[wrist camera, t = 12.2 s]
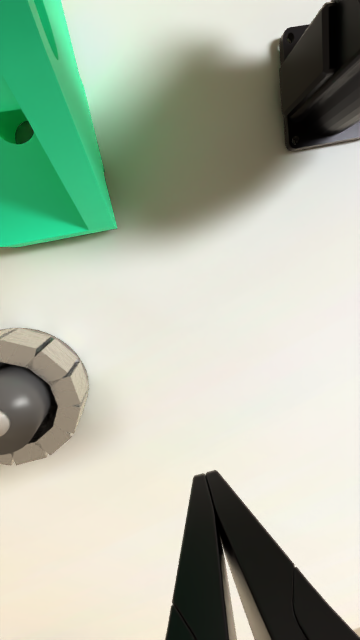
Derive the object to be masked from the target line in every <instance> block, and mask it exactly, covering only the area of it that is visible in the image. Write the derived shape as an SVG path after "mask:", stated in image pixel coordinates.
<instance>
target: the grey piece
mask: <svg viewBox="0 0 360 640" xmlns="http://www.w3.org/2000/svg"><path fill="white" fill-rule="evenodd" d="M2 363H8V364H12V365H17V366H21V367H26V368H29V369H30V370H31V371H33V372H34V373H35V374H36V375H38V376H39V377H40V378H42V379H43V380H44V381H45V382H47V383H48V384H49V385H50V387H51V390H52V392H53V395H54V397H55V400H56V401H55V403H54V404H53V406H52V407H51V409H50V411H49V412H48V414H47V415H46V417H45V418H44V420H43V422H42V423H41V425H40V426H39V428H38V429H37V431H36V433H35V434H34V436H33V437H32V439H31V440H30V441H29V442H28V444H27V445H25V446H24V447H23V448H21V449H20V450H18V451H15V452H13V453H10V454H5V455H0V464H6V465H12V463H13V462H15V464H16V465H18V464H22V463H26V462H30V461H34V460H38V459H42V458H46V457H47V455H48V454H49V455H51V454H52V453H54V452H55V451H56V450H57V449H58V448H59V447H60V446H62V445H63V444H64V443H65V442H66V441H67V440H68V439H70V438H71V437H72V435H73V433H74V432H75V429H76V427H77V425H78V422H79V420H80V417H81V415H82V413H83V409H84V406H85V402H86V400H87V396H88V391H89V383H88V376H87V372H86V369H85V367H84V365H83V363H82V361H81V360H80V358H79V357H78V355H77V354H76V353H75V352H74V351H73V350H72V349H71V348H70V347H69V346H68V345H67V344H65V343H64V342H63V341H61V340H60V339H58V338H56V337H54V336H52V335H50V334H48V333H45V332H42V331H39V330H34V329H28V328H10V329H3V330H0V365H1V364H2Z"/></svg>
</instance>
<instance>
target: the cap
mask: <svg viewBox="0 0 360 640" xmlns="http://www.w3.org/2000/svg"><path fill="white" fill-rule="evenodd" d="M55 401H56V400H55V397H54V395H53V392H52V390H51V387H50V385H49V384H48V383H47V382H45V381H44V380H43V379H42V378H40V377H39V376H38V375H36V374H35V373H34V372H33V371H31V370H30V369H29V368H26V367H21V366H17V365H12V364H8V363H2V364H1V365H0V455H5V454H10V453H13V452H15V451H18V450H20V449H21V448H23V447H24V446H25V445H27V444H28V442H29V441H30V440H31V439H32V437H33V436H34V434H35V433H36V431H37V429H38V428H39V426H40V425H41V423H42V422H43V420H44V418H45V417H46V415H47V414H48V412H49V411H50V409H51V407H52V406H53V404H54V403H55Z"/></svg>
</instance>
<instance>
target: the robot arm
mask: <svg viewBox="0 0 360 640" xmlns="http://www.w3.org/2000/svg"><path fill="white" fill-rule="evenodd" d="M287 38H289V39H290V41H291V43H289V42H288V41H287ZM280 61H281V67H280V70H279V72H280V88H281V104H282V114H283V115H284V126H285V143H286V147H287V149H288V150H290V151H296V150H301V149H307V148H312V147H317V146H323V145H328V144H334V143H339V142H345V141H350V140H355V139H360V0H331V2H327V3H325V4H324V5H323V7H322V8H321V9H320V11H319V12H318V14H317V15H316V17H315V18H314V19H313V21H312V22H311V24H310V25H303V26H296V27H290V28H287V29H286V30H285V32H284V33H283V35H282V37H281V39H280ZM292 139H295V141H296V144H293V142H292ZM221 542H222V543H221ZM222 546H223V547H222ZM223 549H224V552H223ZM224 553H225V556H226V559H227V562H228V565H229V567H230V570H231V573H232V576H233V579H234V582H235V585H236V588H237V590H238V593H239V596H240V599H241V602H242V605H243V608H244V610H245V613H246V616H247V619H248V622H249V625H250V628H251V630H252V633H253V636H254V639H255V640H360V637H359V636H358V635H357V634H356V633H355V632H354V631H353V630H352V629H351V628H350V627H349V626H348V625H347V624H346V623H345V621H344V620H343V619H342V618H341V617H340V616H339V615H338V614H337V613H336V612H335V611H334V610H333V609H332V608H331V607H330V606H329V604H328V603H327V602H326V601H325V600H324V599H323V598H322V596H321V595H320V594H319V593H318V592H317V591H316V589H315V588H314V587H313V586H312V585H311V584H310V583H309V581H308V580H307V579H306V578H305V577H304V575H303V574H302V573H301V572H300V570H299V569H298V568H297V567H295V566H294V563H293V562H292V561H291V560H290V559H289V557H288V556H287V555H286V554H285V552H284V551H283V550H282V549H281V548H280V546H279V545H278V544H277V543H276V542H275V540H274V539H273V538H272V537H271V536H270V534H269V533H268V532H267V531H266V529H265V528H264V527H263V526H262V525H261V523H260V522H259V521H258V520H257V519H256V517H255V516H254V515H253V514H252V512H251V511H250V510H249V509H248V508H247V506H246V505H245V504H244V503H243V502H242V500H241V499H240V498H239V497H238V495H237V494H236V493H235V492H234V491H233V489H232V488H231V487H230V486H229V485H228V483H227V482H226V481H225V480H224V479H223V477H222V476H221V475H220V474H219V472H218V471H216V470H214V471H210V472H207V473H206V475H205V474H199V475H195V476H194V478H193V482H192V488H191V494H190V500H189V506H188V512H187V518H186V523H185V529H184V535H183V541H182V547H181V553H180V559H179V565H178V570H177V576H176V582H175V588H174V594H173V600H172V603H173V605H172V606H171V611H170V616H169V622H168V628H167V633H166V638H165V640H237V637H236V631H235V624H234V617H233V611H232V604H231V597H230V591H229V584H228V577H227V571H226V564H225V558H224Z"/></svg>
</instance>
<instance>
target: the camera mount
mask: <svg viewBox="0 0 360 640" xmlns="http://www.w3.org/2000/svg"><path fill="white" fill-rule="evenodd" d="M25 121H28V122H29V123H30V125H31V127H32V129H33V131H34V134H33V136H32V137H31V139H30V140H29V141H27V142H25V143H23V144H16V141H15V133H16V130H17V128H18V126H19V125H20V124H21V123H23V122H25ZM103 172H105V171H104V167H103V163H102V159H101V155H100V151H99V147H98V143H97V139H96V135H95V131H94V127H93V123H92V119H91V115H90V110H89V106H88V102H87V98H86V94H85V90H84V86H83V84H82V81H81V78H80V76H79V72H78V68H77V64H76V60H75V56H74V52H73V48H72V44H71V40H70V36H69V32H68V28H67V24H66V20H65V16H64V12H63V8H62V4H61V0H0V247H22V246H27V245H32V244H38V243H43V242H48V241H54V240H59V239H64V238H69V237H75V236H80V235H85V234H91V233H96V232H101V231H106V230H112V229H117V225H116V221H115V217H114V213H113V209H112V205H111V201H110V197H109V193H108V189H107V185H106V181H105V177H104V173H103Z"/></svg>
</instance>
